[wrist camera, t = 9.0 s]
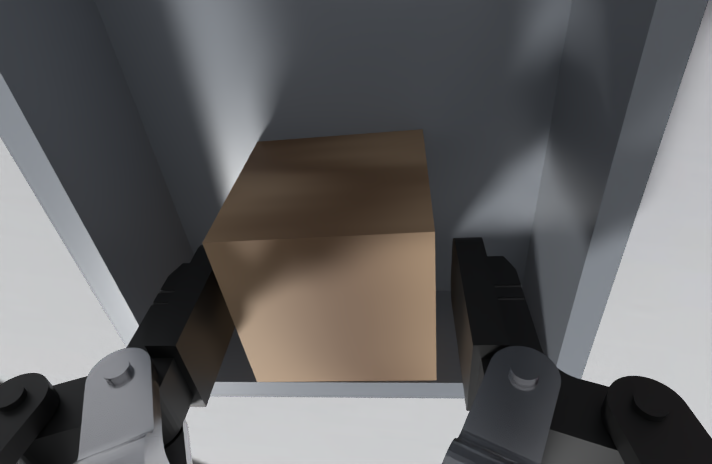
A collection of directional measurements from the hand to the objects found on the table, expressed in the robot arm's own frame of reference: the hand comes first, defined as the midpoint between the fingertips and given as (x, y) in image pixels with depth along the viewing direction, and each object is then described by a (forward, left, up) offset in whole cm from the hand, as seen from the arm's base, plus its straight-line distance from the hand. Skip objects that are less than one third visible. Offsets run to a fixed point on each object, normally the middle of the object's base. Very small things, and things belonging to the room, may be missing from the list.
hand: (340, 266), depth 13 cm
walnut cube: (0, 0, -3) cm, 3 cm away
